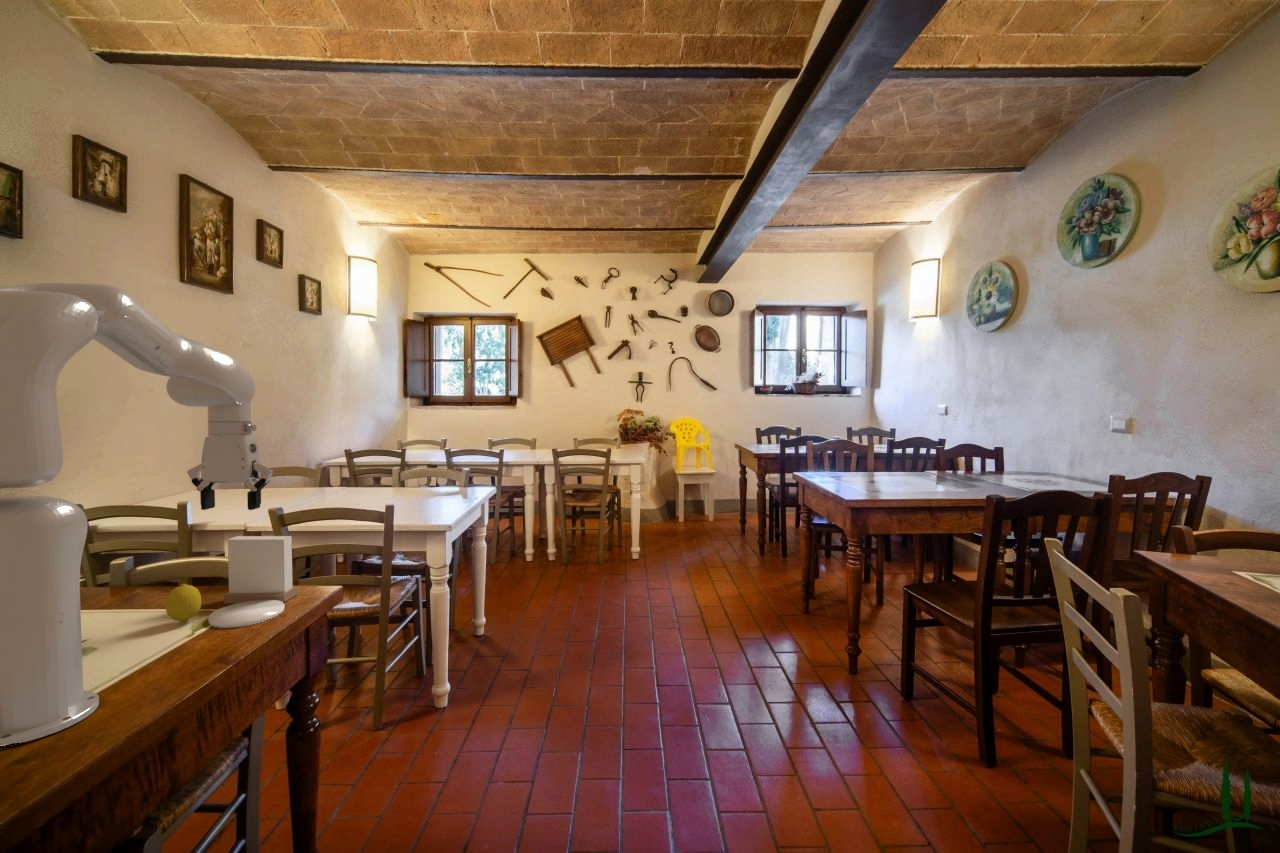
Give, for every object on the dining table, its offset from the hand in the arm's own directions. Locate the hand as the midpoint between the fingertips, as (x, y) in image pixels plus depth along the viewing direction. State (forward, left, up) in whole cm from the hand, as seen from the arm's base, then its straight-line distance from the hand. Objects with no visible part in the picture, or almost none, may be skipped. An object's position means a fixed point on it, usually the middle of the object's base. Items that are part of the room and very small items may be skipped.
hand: (231, 508), depth 120 cm
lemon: (-9, -4, -22) cm, 24 cm away
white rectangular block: (+5, 0, -21) cm, 22 cm away
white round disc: (+1, -9, -21) cm, 23 cm away
